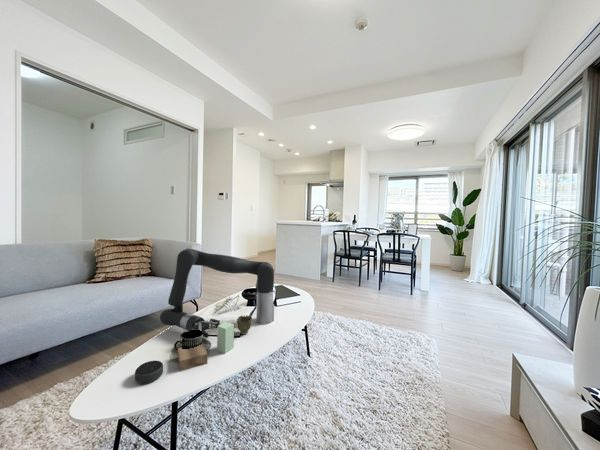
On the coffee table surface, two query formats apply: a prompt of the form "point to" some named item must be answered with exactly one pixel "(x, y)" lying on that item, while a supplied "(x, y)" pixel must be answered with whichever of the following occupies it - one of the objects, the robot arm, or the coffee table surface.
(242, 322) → the cup
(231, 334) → the green block
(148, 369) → the smart speaker
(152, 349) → the coffee table surface
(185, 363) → the walnut plinth
